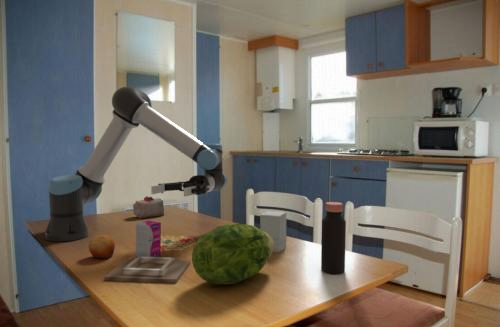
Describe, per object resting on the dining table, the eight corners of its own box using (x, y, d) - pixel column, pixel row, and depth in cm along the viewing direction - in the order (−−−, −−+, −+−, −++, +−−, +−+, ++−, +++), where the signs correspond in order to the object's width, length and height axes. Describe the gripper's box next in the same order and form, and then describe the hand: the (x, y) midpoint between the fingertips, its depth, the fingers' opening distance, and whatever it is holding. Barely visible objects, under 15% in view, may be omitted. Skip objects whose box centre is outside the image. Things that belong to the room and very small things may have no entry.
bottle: (340, 276, 111) (341, 206, 110) (317, 272, 115) (318, 203, 113) (347, 269, 117) (349, 202, 115) (326, 265, 120) (327, 200, 119)
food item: (138, 219, 185) (138, 198, 184) (132, 216, 191) (131, 196, 190) (165, 216, 193) (165, 196, 192) (158, 213, 199) (158, 194, 199)
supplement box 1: (148, 261, 123) (147, 225, 123) (135, 258, 127) (134, 223, 126) (161, 256, 128) (161, 221, 128) (148, 253, 131) (148, 219, 131)
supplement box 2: (286, 247, 140) (287, 212, 139) (279, 253, 133) (279, 216, 132) (267, 244, 143) (267, 210, 142) (259, 250, 136) (259, 214, 135)
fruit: (124, 248, 132) (115, 231, 127) (111, 267, 126) (101, 249, 121) (104, 246, 134) (95, 229, 130) (90, 264, 128) (80, 247, 124)
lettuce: (288, 273, 113) (289, 220, 112) (220, 300, 94) (220, 237, 93) (251, 261, 124) (251, 213, 123) (182, 284, 104) (182, 227, 103)
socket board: (104, 280, 107) (104, 271, 107) (127, 261, 123) (127, 253, 123) (176, 283, 105) (176, 273, 105) (190, 263, 121) (190, 255, 121)
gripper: (229, 195, 149) (199, 204, 130) (175, 192, 160) (139, 200, 140) (229, 175, 149) (199, 181, 129) (174, 173, 159) (139, 179, 140)
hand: (168, 191), depth 135 cm, fingers open, 13 cm apart
